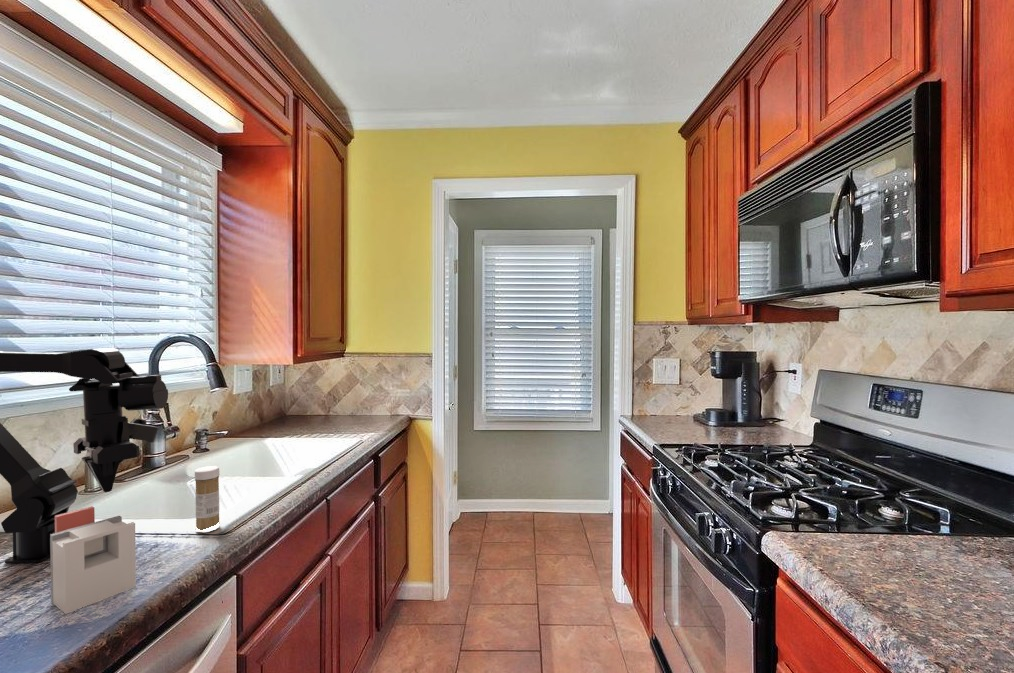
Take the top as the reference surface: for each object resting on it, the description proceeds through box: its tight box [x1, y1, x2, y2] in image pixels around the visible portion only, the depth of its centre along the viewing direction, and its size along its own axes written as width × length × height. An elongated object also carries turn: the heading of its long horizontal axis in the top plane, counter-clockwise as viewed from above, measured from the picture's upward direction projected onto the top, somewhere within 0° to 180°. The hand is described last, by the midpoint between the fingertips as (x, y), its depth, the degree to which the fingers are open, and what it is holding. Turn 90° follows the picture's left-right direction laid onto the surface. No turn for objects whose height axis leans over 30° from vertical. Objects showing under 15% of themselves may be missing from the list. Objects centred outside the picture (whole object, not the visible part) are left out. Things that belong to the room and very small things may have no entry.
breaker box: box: [50, 515, 137, 615], centre depth 78 cm, size 6×9×11 cm
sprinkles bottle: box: [194, 465, 221, 530], centre depth 103 cm, size 5×5×14 cm
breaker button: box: [55, 506, 103, 556], centre depth 80 cm, size 8×5×6 cm, turn 59°
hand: (107, 491), depth 93 cm, fingers closed
